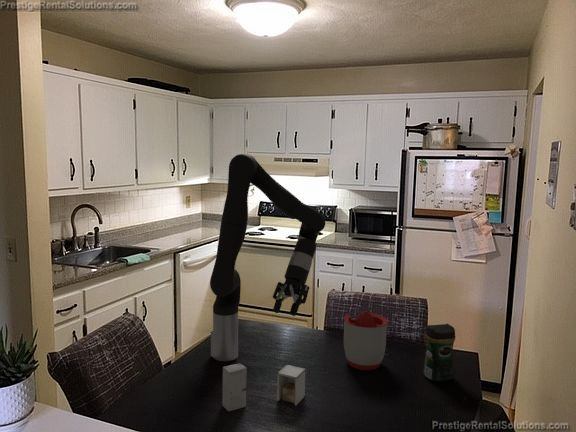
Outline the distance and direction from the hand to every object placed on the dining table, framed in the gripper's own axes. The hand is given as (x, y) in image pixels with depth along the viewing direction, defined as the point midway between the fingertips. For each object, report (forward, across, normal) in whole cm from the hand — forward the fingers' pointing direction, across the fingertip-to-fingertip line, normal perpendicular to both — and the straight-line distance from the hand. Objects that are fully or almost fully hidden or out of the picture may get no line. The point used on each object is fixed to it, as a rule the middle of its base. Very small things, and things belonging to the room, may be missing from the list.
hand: (283, 313), depth 154 cm
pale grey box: (+24, +6, +8) cm, 26 cm away
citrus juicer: (+5, +4, +40) cm, 40 cm away
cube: (+24, +6, +8) cm, 26 cm away
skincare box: (+31, -1, -6) cm, 32 cm away
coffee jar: (+2, +26, +52) cm, 58 cm away
